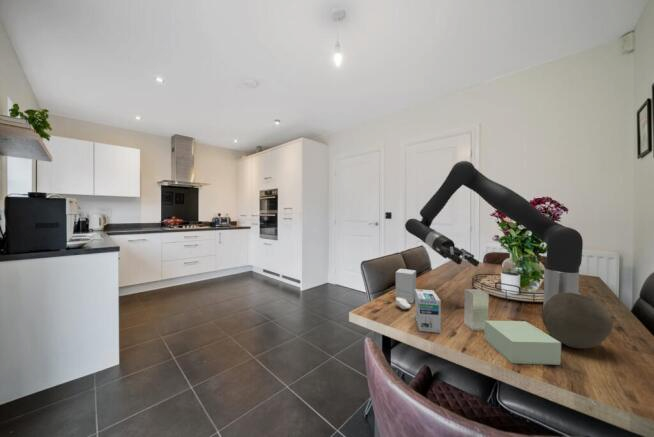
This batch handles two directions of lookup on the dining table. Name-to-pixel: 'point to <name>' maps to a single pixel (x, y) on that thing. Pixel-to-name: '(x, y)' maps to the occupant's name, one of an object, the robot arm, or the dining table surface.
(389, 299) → the dining table surface
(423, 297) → the light bulb box
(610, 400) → the dining table surface
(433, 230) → the robot arm
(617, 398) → the dining table surface
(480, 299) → the tea tin
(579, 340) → the brown coconut
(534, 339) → the green box
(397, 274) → the supplement box
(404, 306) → the dumpling
